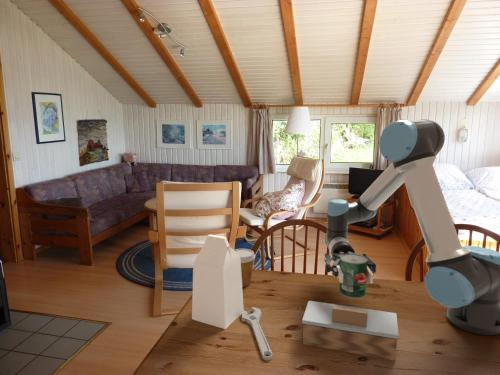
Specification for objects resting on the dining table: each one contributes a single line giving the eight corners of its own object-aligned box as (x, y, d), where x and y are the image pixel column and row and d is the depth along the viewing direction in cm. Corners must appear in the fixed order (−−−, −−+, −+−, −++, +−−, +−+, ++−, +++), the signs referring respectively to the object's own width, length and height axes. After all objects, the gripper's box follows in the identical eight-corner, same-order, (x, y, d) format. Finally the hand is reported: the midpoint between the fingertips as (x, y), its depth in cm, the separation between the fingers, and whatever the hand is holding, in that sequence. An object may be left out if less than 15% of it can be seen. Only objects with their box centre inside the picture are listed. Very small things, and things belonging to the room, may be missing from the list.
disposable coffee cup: (249, 276, 150) (249, 246, 147) (259, 286, 141) (259, 255, 139) (226, 280, 146) (225, 250, 144) (234, 290, 138) (234, 259, 135)
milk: (243, 311, 124) (243, 233, 119) (225, 329, 114) (224, 245, 109) (212, 302, 129) (210, 228, 124) (191, 319, 119) (189, 239, 114)
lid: (396, 316, 109) (397, 300, 108) (398, 339, 98) (399, 321, 97) (308, 303, 116) (309, 288, 115) (302, 323, 105) (302, 306, 104)
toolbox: (393, 337, 110) (394, 317, 109) (395, 360, 99) (397, 339, 98) (308, 323, 117) (309, 305, 116) (302, 344, 107) (303, 324, 105)
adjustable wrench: (273, 361, 100) (273, 355, 100) (249, 363, 99) (249, 357, 99) (259, 311, 124) (259, 306, 124) (240, 313, 124) (240, 307, 123)
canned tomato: (339, 285, 122) (340, 252, 120) (365, 288, 120) (367, 254, 118) (338, 297, 114) (339, 261, 112) (366, 300, 112) (367, 264, 110)
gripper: (371, 261, 134) (392, 291, 111) (311, 261, 135) (320, 290, 112) (372, 240, 132) (394, 266, 110) (311, 240, 133) (320, 266, 111)
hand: (356, 278), depth 111 cm, fingers closed on canned tomato, 8 cm apart
